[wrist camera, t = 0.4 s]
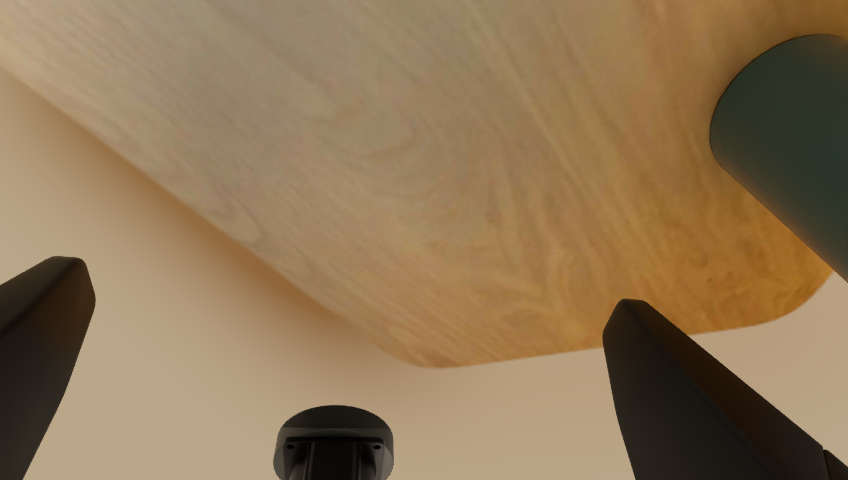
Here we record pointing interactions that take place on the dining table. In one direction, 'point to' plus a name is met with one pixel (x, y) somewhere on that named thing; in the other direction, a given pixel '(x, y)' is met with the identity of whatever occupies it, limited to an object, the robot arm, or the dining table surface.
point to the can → (793, 139)
